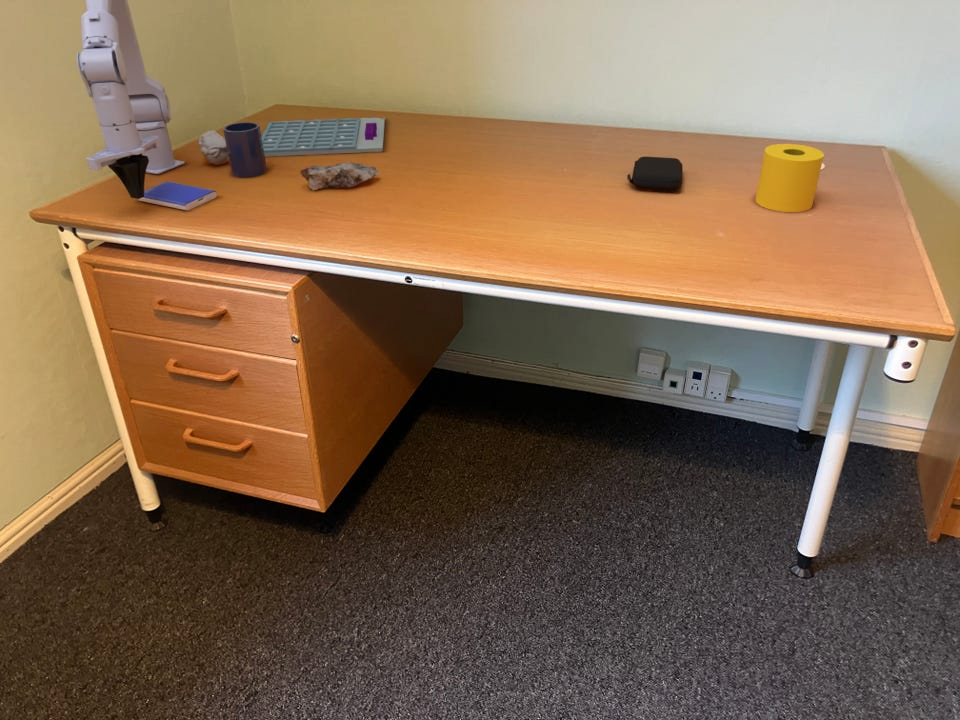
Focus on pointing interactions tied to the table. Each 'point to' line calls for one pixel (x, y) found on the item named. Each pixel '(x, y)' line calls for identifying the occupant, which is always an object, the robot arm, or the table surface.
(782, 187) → the yellow toilet paper roll
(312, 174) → the mineral rock
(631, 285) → the table surface
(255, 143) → the pen cup
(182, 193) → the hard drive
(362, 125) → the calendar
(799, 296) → the table surface
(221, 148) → the grey rounded lump
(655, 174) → the carrying case
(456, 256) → the table surface
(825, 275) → the table surface
